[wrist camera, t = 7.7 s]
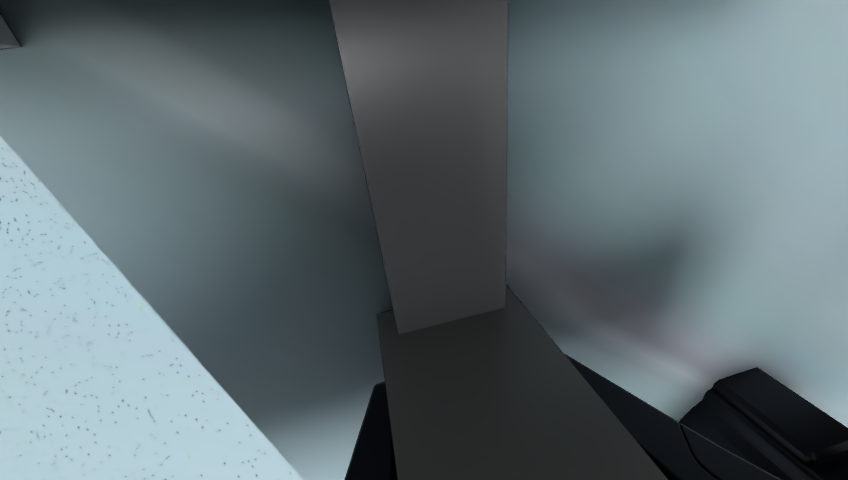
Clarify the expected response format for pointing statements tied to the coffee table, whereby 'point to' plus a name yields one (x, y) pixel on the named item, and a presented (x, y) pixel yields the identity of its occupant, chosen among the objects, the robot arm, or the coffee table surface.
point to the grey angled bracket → (461, 258)
